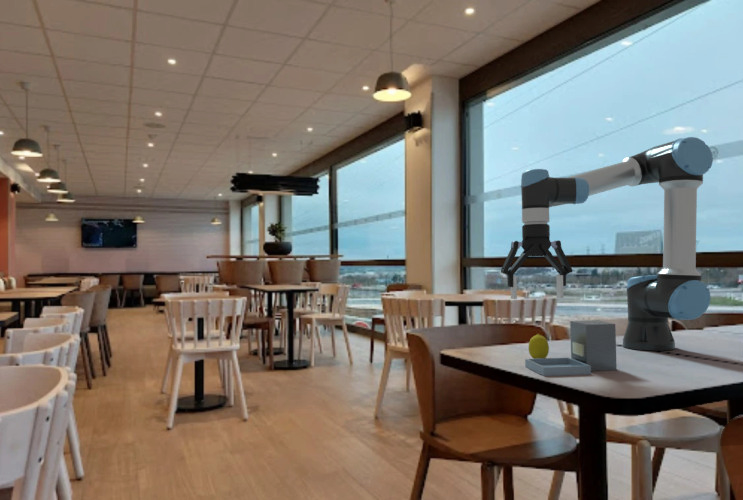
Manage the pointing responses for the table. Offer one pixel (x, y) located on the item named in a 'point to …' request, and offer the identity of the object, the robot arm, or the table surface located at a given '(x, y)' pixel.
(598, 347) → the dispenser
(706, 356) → the table surface
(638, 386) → the table surface
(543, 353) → the lemon
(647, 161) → the robot arm
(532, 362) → the dish
